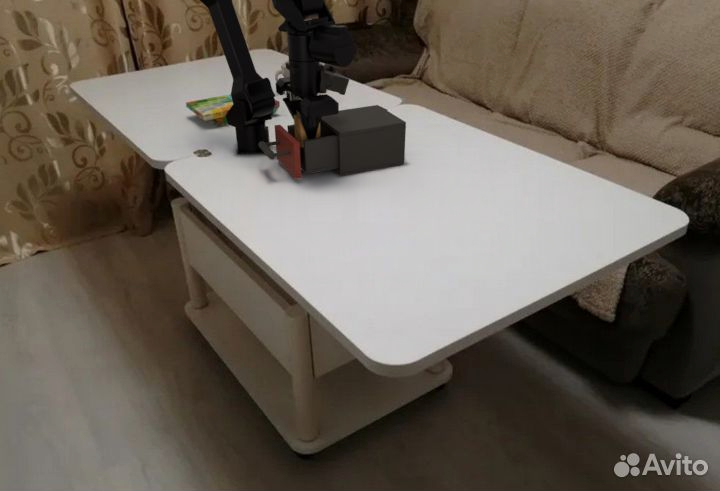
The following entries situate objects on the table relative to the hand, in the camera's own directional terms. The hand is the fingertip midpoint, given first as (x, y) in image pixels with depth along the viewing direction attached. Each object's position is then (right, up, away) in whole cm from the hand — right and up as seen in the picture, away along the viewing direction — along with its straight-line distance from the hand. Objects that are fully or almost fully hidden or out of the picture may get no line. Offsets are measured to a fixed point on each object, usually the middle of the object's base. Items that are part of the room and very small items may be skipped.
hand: (307, 138), depth 119 cm
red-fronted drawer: (0, -5, +3) cm, 6 cm away
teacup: (-6, +22, +51) cm, 56 cm away
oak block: (0, -1, +1) cm, 1 cm away
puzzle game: (-21, +11, +32) cm, 40 cm away
